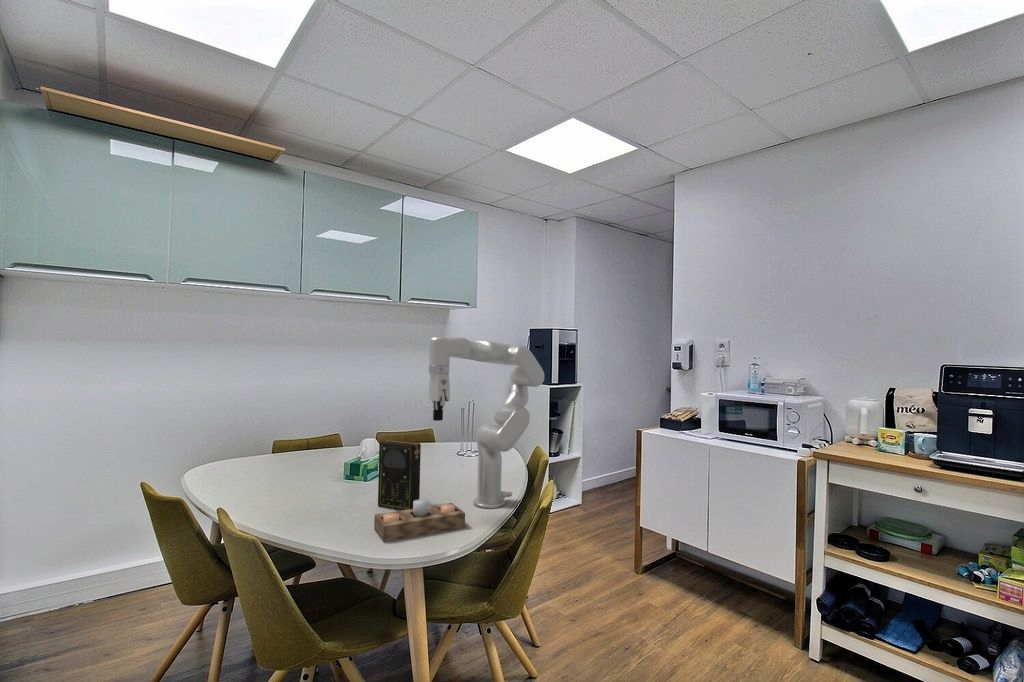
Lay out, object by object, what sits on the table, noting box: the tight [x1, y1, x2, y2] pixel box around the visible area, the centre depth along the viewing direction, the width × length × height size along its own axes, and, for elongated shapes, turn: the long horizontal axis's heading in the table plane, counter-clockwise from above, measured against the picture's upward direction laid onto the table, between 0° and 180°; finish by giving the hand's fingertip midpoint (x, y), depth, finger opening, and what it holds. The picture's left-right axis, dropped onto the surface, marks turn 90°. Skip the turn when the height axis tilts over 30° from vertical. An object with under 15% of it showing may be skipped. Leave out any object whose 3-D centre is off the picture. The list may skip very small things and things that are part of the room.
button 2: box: [441, 503, 456, 513], centre depth 167 cm, size 5×5×5 cm
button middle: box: [413, 498, 429, 518], centre depth 162 cm, size 5×5×5 cm
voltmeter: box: [377, 439, 422, 511], centre depth 184 cm, size 16×9×25 cm, turn 70°
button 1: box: [383, 512, 399, 523], centre depth 157 cm, size 5×5×5 cm
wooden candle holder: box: [373, 502, 466, 543], centre depth 162 cm, size 28×12×5 cm, turn 120°
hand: (437, 420), depth 175 cm, fingers closed
